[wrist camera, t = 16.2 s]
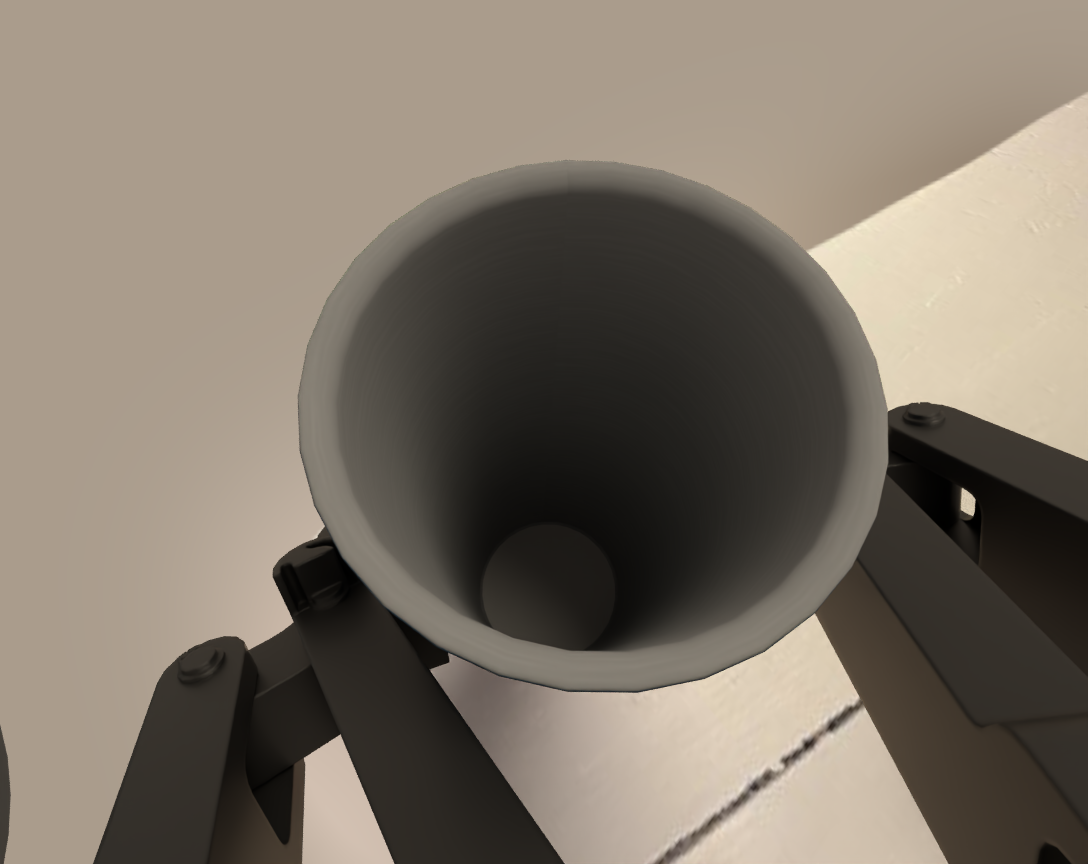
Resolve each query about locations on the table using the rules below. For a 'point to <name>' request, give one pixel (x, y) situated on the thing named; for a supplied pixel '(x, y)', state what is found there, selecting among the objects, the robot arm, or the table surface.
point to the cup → (593, 426)
